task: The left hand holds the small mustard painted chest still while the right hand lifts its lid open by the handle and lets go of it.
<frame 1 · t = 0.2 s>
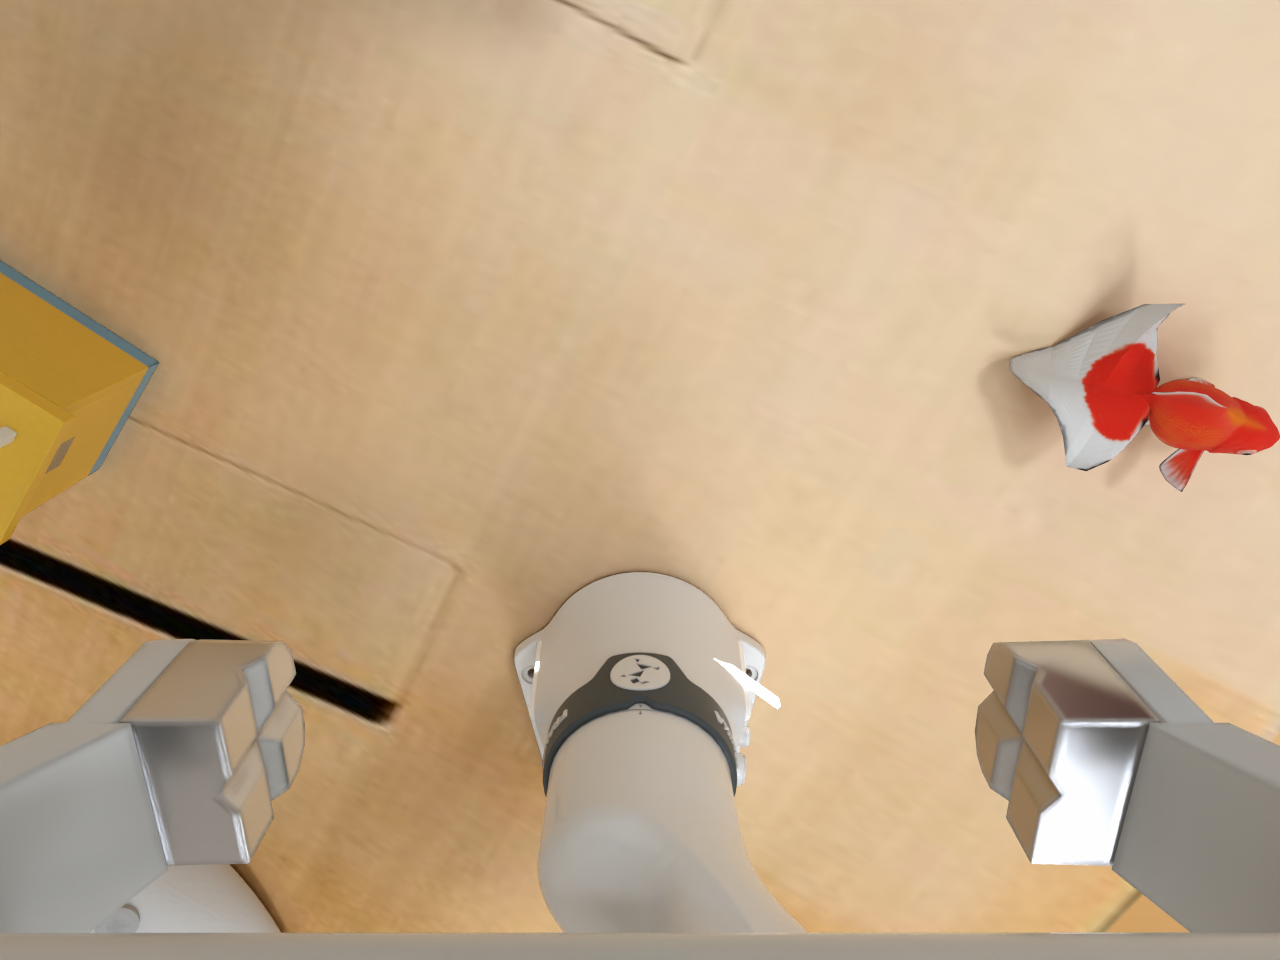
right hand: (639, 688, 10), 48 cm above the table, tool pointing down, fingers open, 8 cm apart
fish: (1104, 386, 58), on the table
chest: (17, 348, 57), on the table
white rounded piece: (178, 883, 74), on the table
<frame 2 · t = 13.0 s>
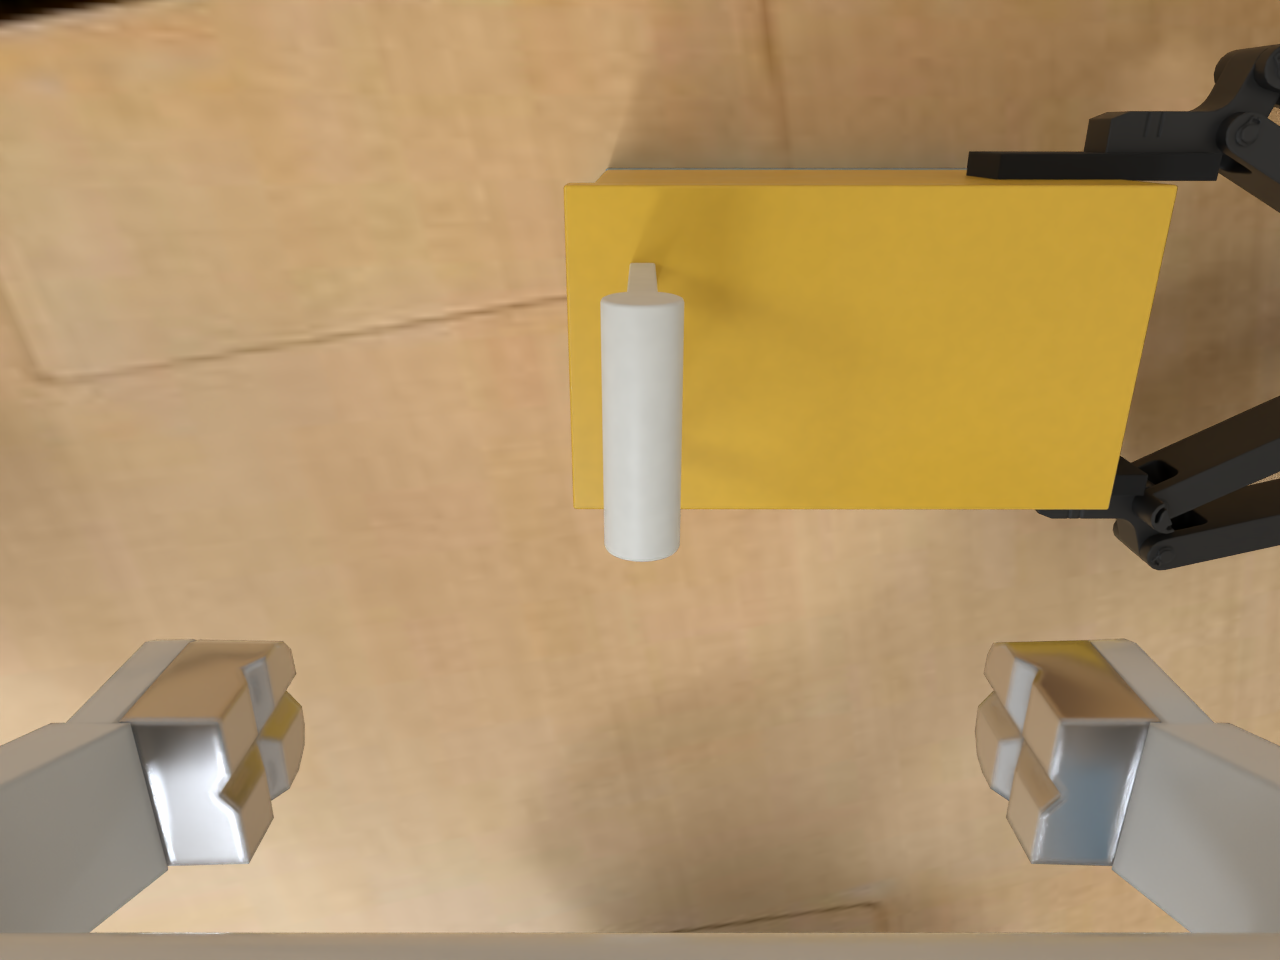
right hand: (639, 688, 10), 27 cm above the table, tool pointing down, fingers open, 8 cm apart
chest: (800, 291, 36), on the table, touching left hand
lid: (882, 387, 22), point 14 cm above the table, hinge at 0.0°
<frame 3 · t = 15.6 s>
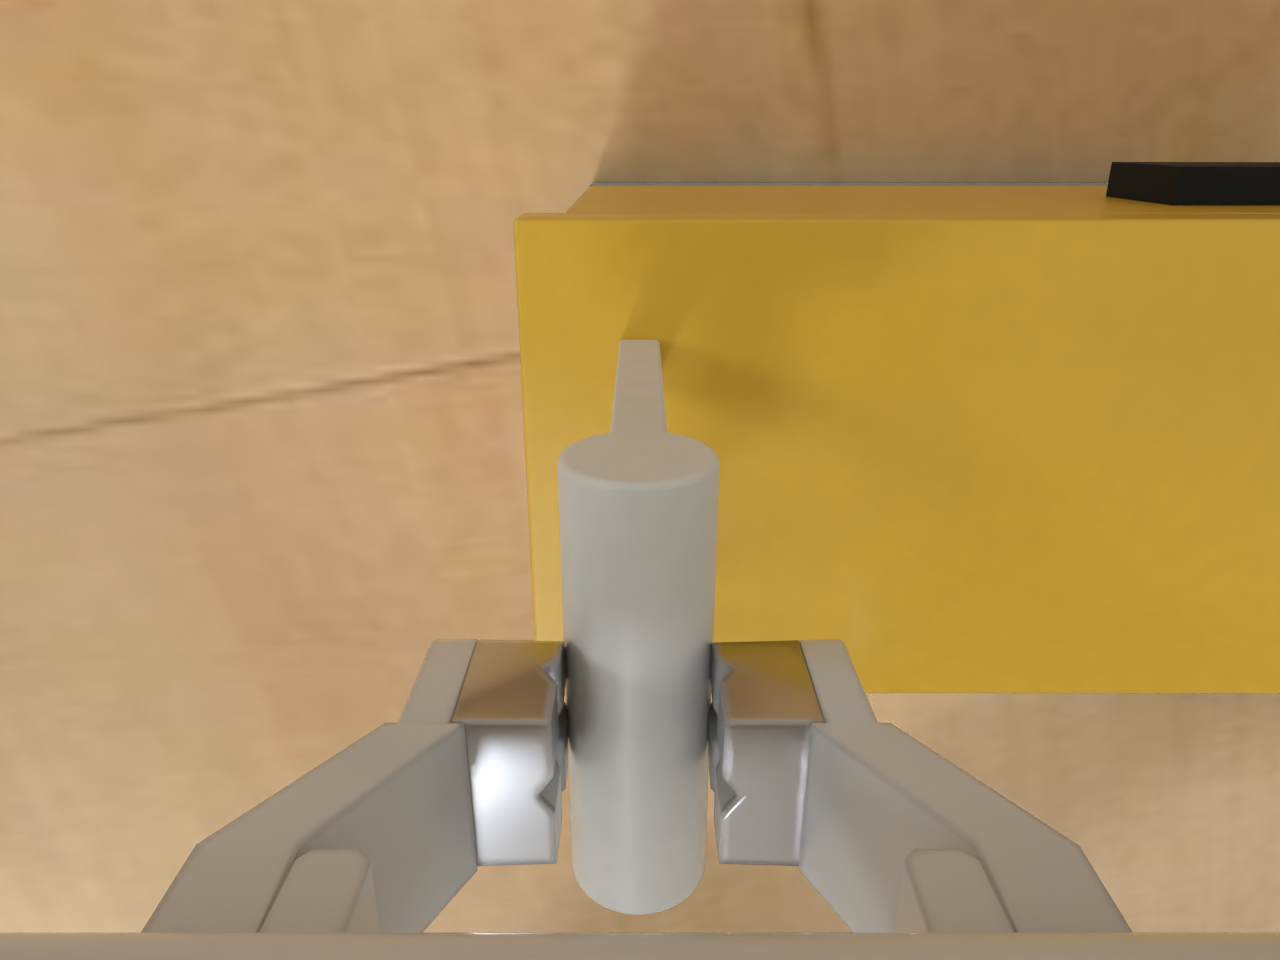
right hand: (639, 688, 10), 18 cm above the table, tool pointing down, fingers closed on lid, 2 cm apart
chest: (849, 344, 27), on the table, touching left hand
lid: (1033, 555, 13), point 14 cm above the table, hinge at 0.0°, touching right hand
when the left hand's fingers open (7 cm above the table, at t = 23.1 s): chest stays where it is, on the table.
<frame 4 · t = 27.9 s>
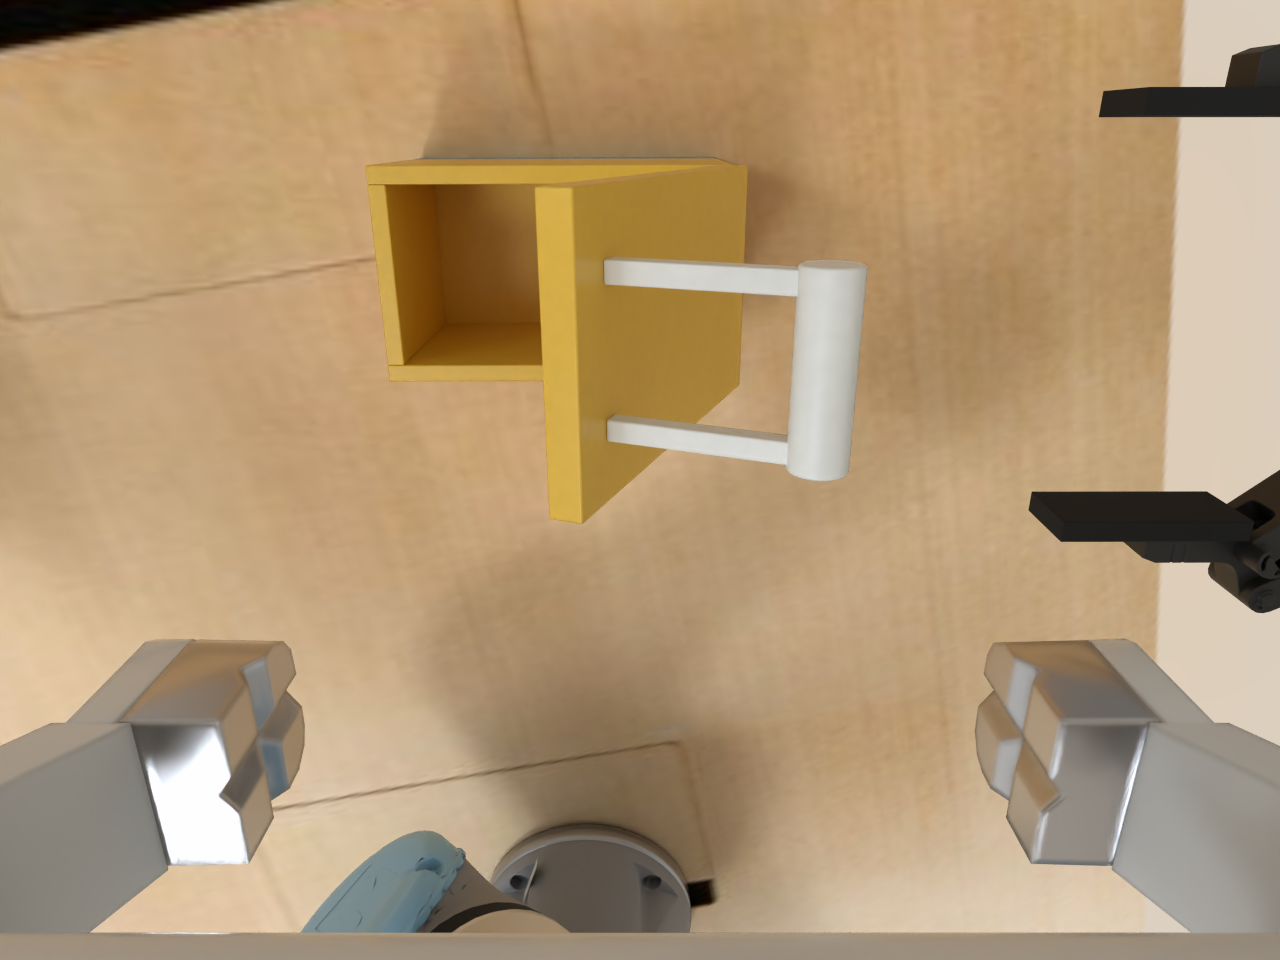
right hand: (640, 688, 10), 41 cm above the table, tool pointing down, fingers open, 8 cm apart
chest: (570, 249, 48), on the table
lid: (763, 320, 30), point 20 cm above the table, hinge at 67.7°
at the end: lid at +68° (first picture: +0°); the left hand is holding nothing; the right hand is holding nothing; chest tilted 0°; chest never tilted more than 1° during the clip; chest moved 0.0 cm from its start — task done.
